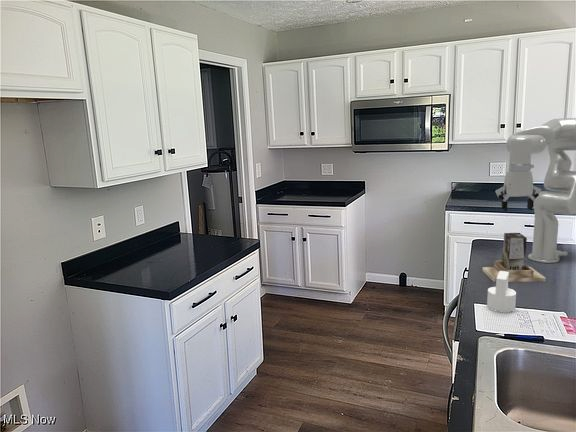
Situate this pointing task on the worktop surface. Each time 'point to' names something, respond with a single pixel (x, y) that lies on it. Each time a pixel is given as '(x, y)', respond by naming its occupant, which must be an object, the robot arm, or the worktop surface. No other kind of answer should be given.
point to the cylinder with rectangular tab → (501, 294)
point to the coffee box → (514, 251)
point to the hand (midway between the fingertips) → (517, 210)
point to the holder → (514, 273)
